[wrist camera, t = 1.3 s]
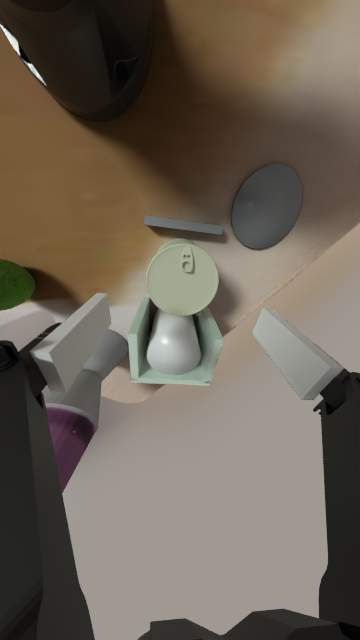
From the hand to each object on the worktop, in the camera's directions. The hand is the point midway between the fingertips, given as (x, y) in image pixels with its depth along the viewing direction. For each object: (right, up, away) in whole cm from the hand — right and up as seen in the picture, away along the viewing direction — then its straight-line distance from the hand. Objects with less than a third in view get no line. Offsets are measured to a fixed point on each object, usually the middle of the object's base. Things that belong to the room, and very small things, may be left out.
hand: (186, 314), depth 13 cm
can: (-1, +10, +16) cm, 19 cm away
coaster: (+13, +17, +12) cm, 25 cm away
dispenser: (-1, +6, +18) cm, 19 cm away
